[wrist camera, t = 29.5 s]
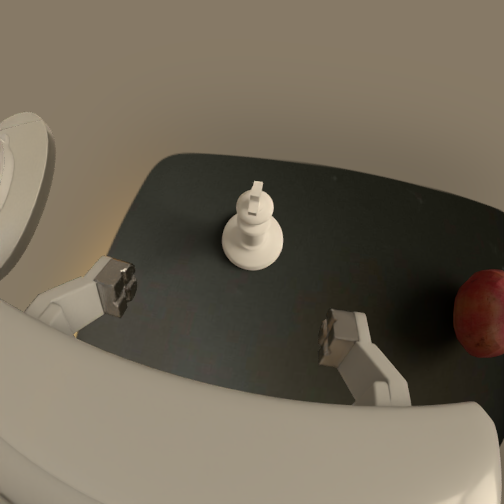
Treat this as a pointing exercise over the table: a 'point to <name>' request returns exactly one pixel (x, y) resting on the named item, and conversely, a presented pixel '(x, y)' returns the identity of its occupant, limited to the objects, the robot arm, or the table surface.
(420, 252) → the table surface
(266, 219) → the chess piece
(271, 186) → the table surface
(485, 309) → the fruit
